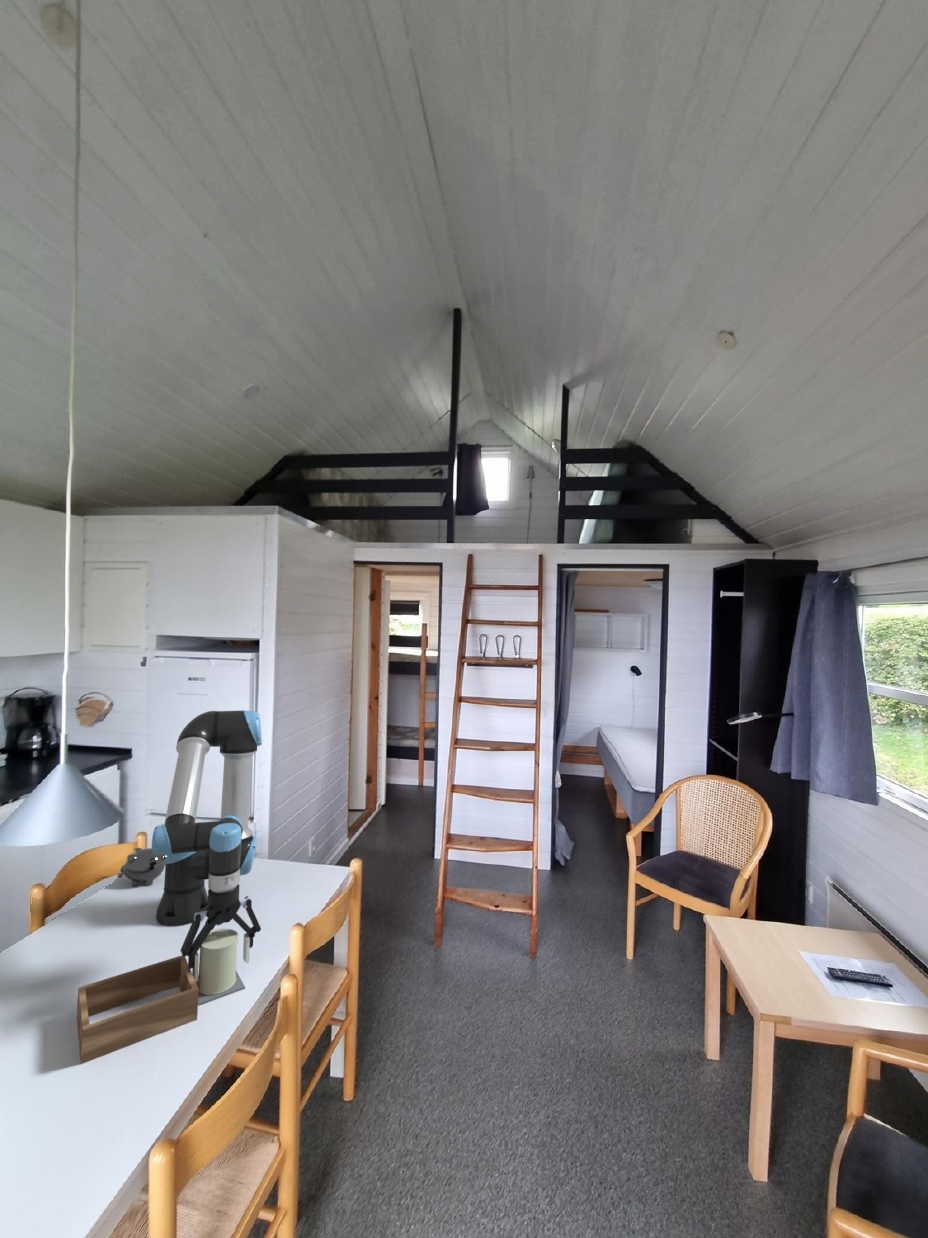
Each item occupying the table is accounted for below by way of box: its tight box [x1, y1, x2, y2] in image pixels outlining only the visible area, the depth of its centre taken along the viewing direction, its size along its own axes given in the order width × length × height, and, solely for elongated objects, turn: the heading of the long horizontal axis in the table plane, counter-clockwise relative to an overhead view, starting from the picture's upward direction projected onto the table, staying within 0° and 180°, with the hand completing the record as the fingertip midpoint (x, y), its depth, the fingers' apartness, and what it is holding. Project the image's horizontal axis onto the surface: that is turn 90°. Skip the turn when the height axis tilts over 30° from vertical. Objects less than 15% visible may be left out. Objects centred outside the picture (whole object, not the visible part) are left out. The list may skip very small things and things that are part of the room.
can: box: [197, 928, 239, 995], centre depth 138 cm, size 9×9×12 cm
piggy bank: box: [120, 847, 166, 887], centre depth 189 cm, size 11×15×12 cm
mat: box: [196, 970, 246, 1007], centre depth 137 cm, size 11×11×1 cm
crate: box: [76, 954, 199, 1065], centre depth 125 cm, size 16×22×7 cm
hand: (221, 969), depth 138 cm, fingers open, 12 cm apart
